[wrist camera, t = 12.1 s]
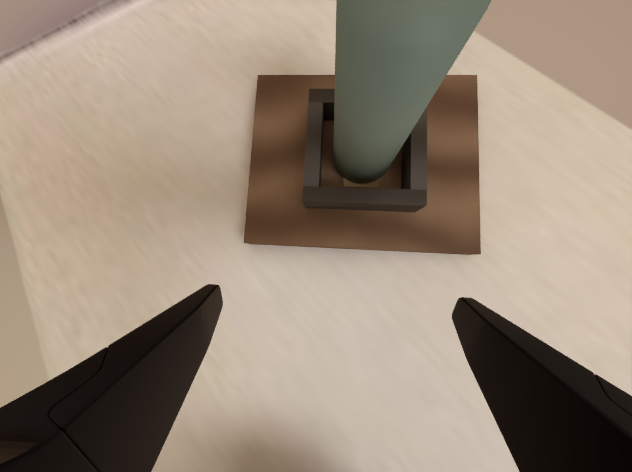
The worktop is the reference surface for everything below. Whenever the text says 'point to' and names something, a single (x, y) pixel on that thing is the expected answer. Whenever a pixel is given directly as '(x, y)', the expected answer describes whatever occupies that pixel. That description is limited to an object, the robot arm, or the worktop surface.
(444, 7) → the grey-green canister
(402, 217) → the walnut seat board
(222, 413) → the worktop surface
